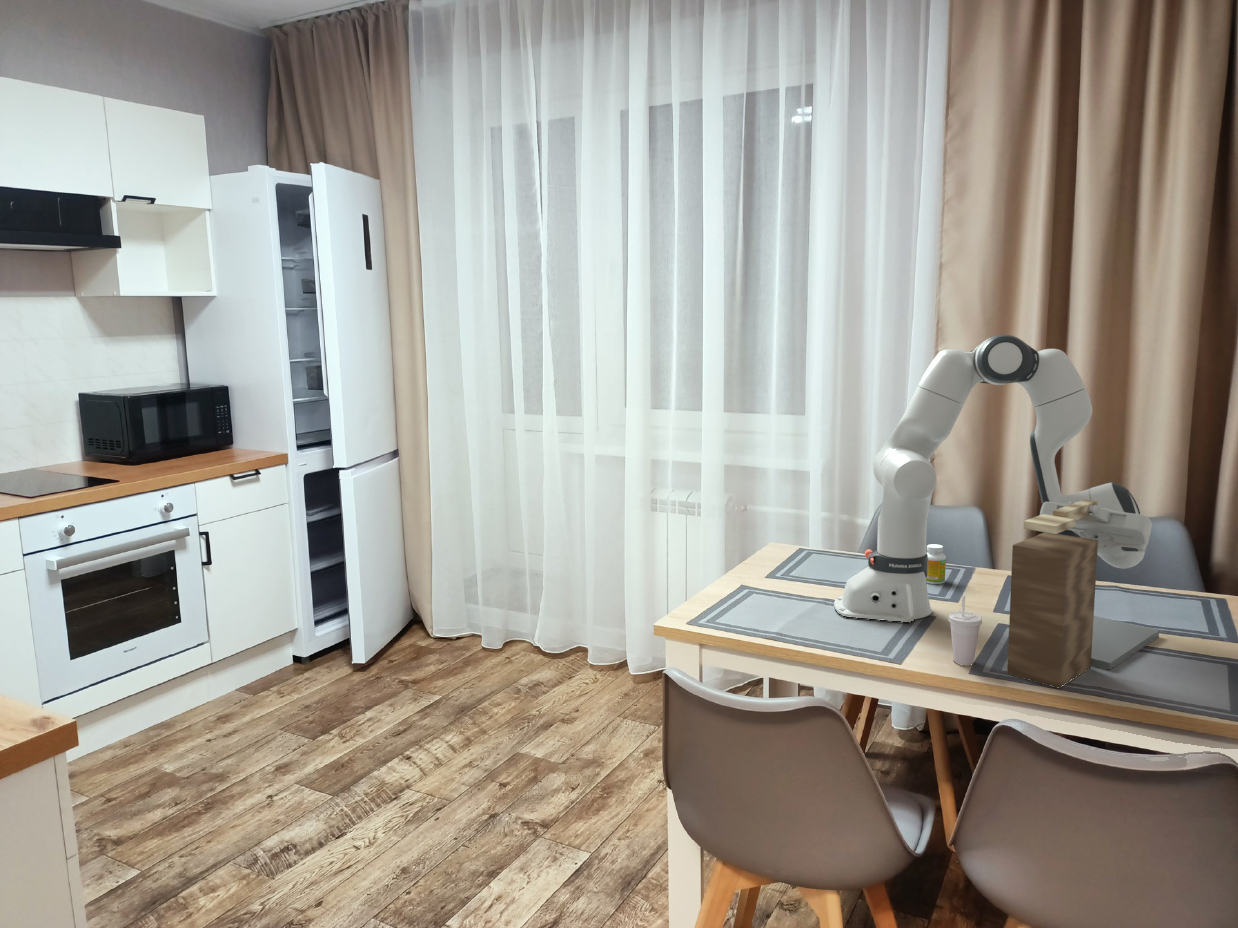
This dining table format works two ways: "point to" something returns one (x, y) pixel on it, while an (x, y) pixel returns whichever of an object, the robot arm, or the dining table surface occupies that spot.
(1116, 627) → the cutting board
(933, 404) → the robot arm
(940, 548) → the supplement bottle
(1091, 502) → the stepped light wood bar
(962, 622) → the smoothie
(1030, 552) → the walnut stand
